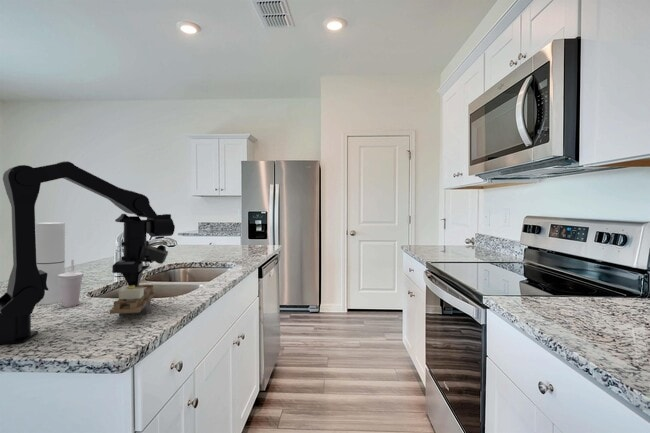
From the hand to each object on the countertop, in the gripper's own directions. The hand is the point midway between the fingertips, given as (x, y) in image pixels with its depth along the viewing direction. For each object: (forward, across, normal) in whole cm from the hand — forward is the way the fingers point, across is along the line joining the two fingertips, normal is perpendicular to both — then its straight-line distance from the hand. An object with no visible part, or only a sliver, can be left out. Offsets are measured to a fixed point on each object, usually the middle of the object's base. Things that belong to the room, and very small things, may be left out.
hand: (134, 292), depth 99 cm
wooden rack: (+6, +1, 0) cm, 6 cm away
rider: (+2, -3, 0) cm, 4 cm away
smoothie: (+6, +13, +21) cm, 25 cm away
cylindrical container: (+6, +19, +29) cm, 35 cm away
